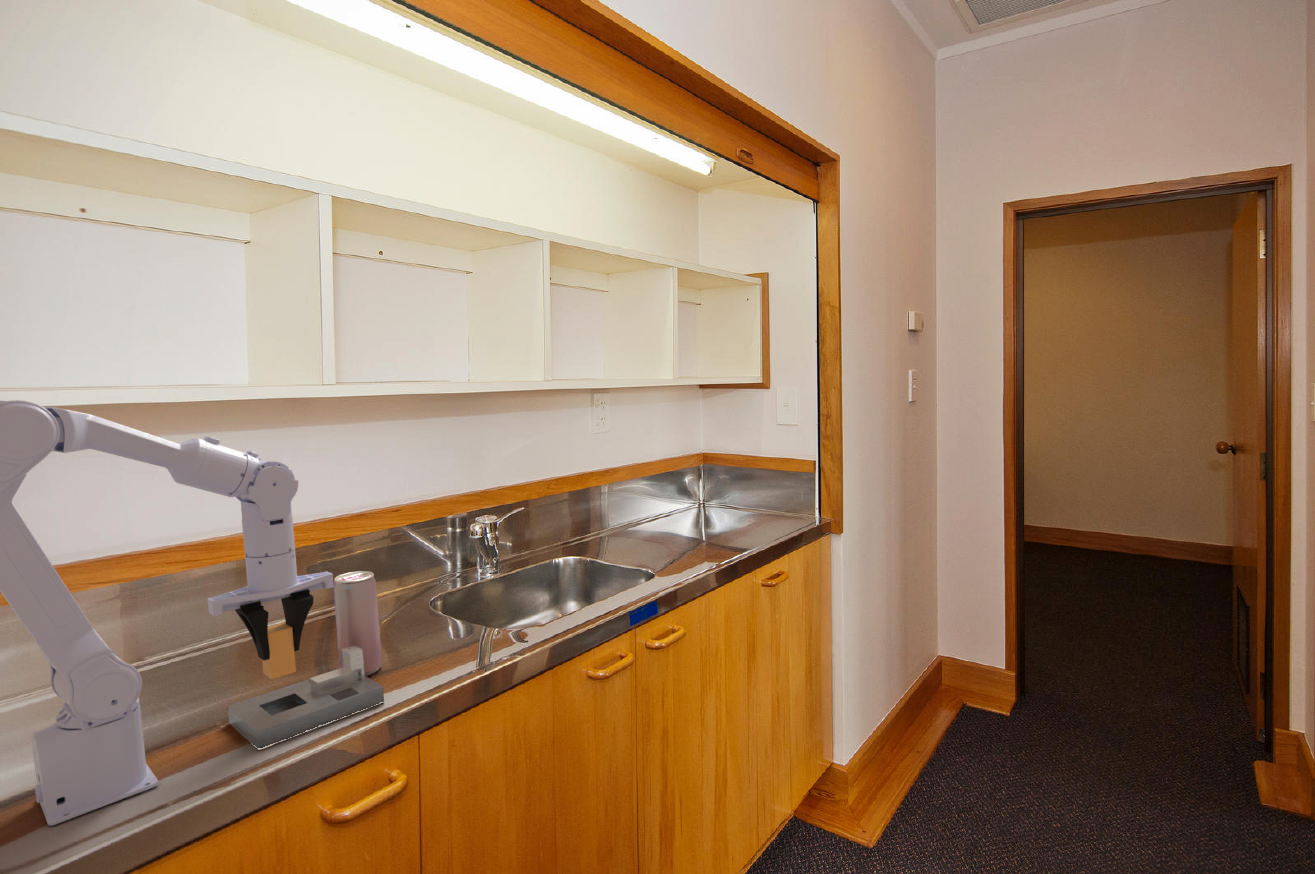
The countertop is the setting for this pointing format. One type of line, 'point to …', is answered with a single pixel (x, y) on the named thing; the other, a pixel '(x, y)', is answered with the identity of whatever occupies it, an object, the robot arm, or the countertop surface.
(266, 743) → the rosette plate
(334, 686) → the bracket
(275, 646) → the orange rectangular block
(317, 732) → the countertop surface
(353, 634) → the beverage can
